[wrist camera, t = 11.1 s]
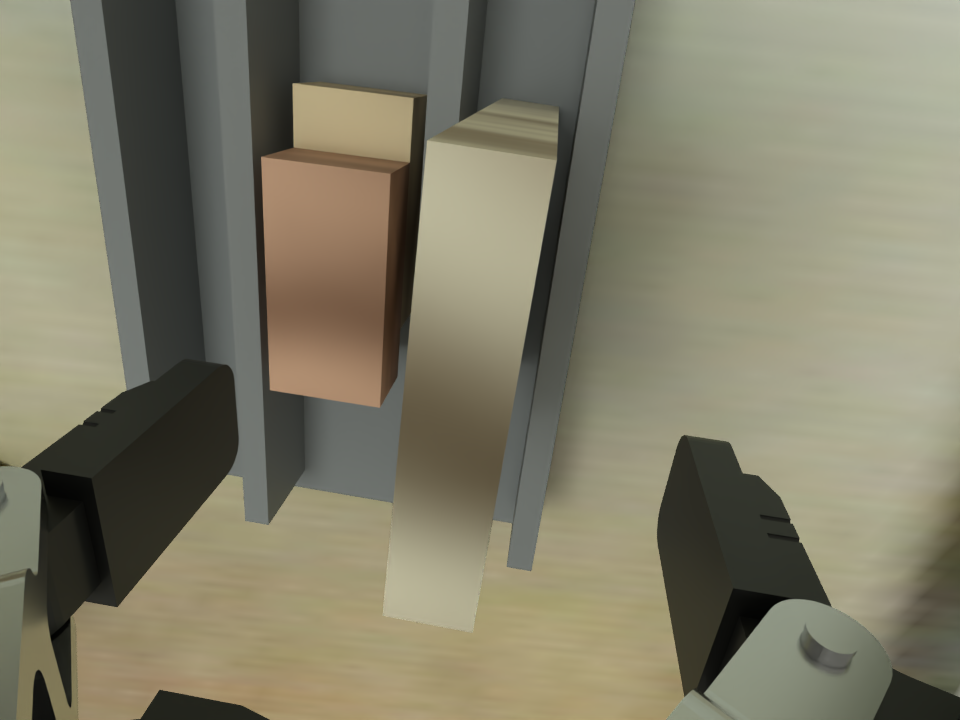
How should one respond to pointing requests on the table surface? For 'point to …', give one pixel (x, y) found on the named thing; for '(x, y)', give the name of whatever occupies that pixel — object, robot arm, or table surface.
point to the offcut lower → (368, 141)
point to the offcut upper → (334, 272)
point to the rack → (269, 129)
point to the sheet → (465, 352)
